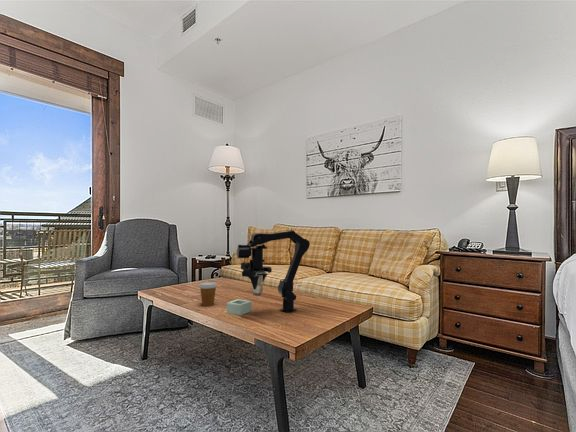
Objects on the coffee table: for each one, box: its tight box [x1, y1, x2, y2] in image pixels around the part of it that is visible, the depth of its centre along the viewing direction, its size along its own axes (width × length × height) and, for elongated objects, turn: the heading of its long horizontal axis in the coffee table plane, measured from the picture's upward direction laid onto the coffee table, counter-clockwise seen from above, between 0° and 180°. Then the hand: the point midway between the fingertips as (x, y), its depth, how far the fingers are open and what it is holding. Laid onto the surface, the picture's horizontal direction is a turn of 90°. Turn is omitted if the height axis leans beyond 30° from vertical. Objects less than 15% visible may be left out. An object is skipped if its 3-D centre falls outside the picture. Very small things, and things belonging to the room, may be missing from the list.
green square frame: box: [226, 298, 253, 316], centre depth 159 cm, size 9×9×5 cm
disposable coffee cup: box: [199, 281, 218, 307], centre depth 173 cm, size 10×10×12 cm
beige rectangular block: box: [251, 275, 264, 297], centre depth 157 cm, size 4×4×10 cm
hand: (257, 288), depth 156 cm, fingers closed on beige rectangular block, 4 cm apart
